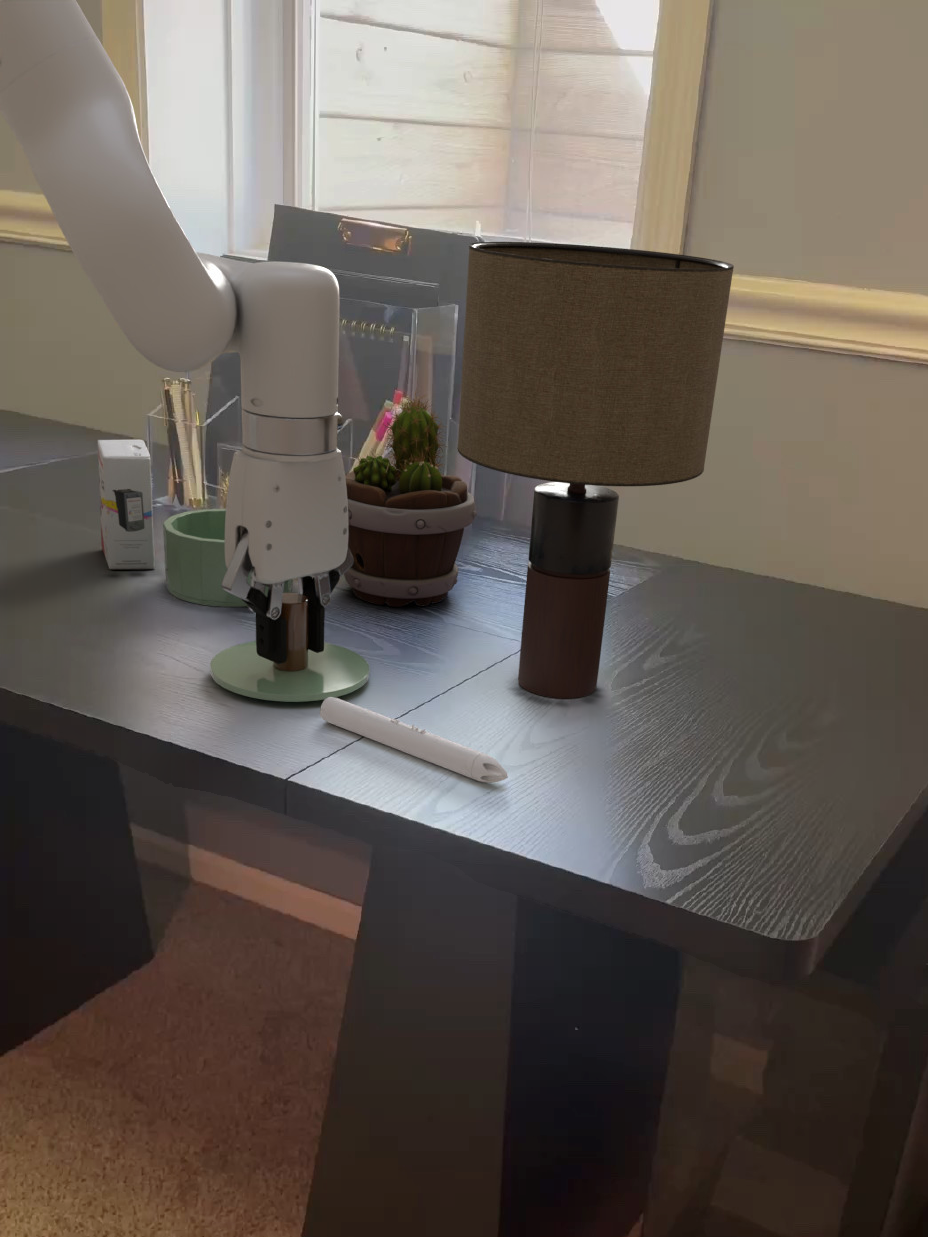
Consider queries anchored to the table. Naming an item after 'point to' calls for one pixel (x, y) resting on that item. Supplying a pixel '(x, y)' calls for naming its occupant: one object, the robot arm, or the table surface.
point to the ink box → (126, 504)
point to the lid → (291, 665)
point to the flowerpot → (406, 517)
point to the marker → (412, 740)
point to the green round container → (200, 558)
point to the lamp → (585, 413)
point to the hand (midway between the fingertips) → (290, 651)
